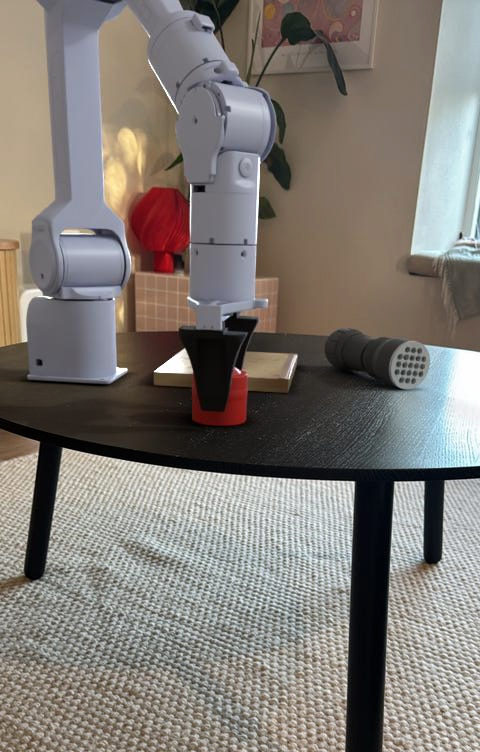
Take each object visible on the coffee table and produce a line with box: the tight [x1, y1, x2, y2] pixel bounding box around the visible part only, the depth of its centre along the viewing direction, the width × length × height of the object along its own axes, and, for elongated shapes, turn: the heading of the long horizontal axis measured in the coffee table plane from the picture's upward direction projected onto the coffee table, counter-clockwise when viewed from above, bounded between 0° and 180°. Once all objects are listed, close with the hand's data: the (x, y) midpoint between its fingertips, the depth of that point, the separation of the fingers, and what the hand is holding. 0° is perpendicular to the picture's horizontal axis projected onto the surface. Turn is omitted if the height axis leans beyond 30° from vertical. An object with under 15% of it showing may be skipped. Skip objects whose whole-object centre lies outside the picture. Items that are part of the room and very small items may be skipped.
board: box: [153, 348, 298, 394], centre depth 91 cm, size 15×18×2 cm
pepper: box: [191, 367, 249, 427], centre depth 69 cm, size 5×5×6 cm
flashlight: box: [324, 327, 431, 390], centre depth 92 cm, size 15×5×5 cm, turn 25°
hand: (219, 401), depth 69 cm, fingers open, 7 cm apart
